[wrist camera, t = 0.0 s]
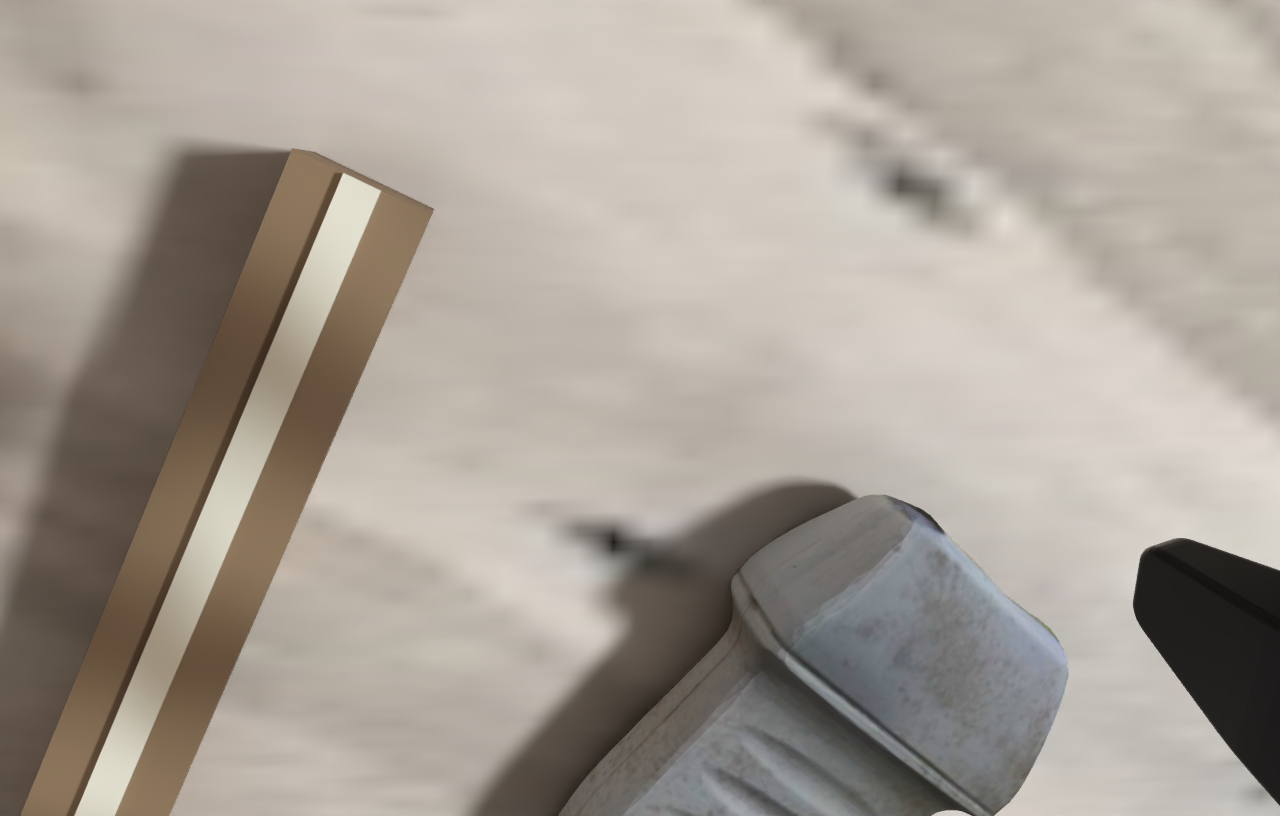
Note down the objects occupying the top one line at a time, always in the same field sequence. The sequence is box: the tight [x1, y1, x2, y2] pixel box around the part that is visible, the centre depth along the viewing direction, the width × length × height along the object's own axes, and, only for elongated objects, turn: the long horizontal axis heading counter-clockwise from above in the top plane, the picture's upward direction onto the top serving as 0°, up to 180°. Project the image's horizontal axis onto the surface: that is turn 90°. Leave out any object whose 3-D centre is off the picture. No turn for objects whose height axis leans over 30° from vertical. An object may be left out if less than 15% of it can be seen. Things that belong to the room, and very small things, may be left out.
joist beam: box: [20, 148, 434, 816], centre depth 21 cm, size 24×3×3 cm, turn 153°
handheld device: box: [558, 495, 1068, 816], centre depth 26 cm, size 10×20×5 cm, turn 138°
